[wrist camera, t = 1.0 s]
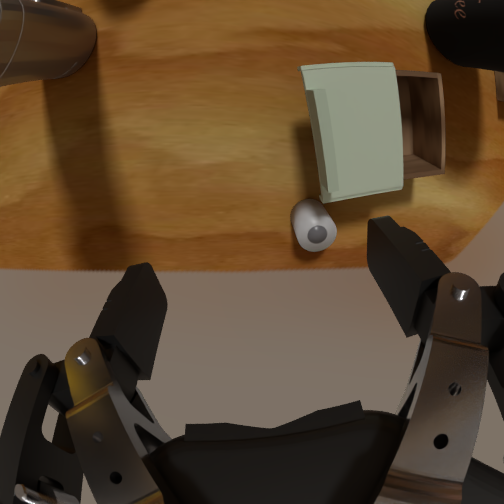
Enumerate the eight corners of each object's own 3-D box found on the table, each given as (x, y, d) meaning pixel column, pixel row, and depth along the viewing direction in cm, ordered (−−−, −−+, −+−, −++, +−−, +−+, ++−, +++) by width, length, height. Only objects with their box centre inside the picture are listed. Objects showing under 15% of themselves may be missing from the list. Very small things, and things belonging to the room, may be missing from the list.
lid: (297, 67, 20) (307, 63, 17) (386, 62, 20) (407, 62, 16) (319, 198, 28) (330, 215, 24) (396, 184, 27) (414, 199, 24)
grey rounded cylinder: (287, 202, 35) (294, 221, 31) (323, 195, 35) (335, 212, 30) (293, 234, 38) (300, 255, 33) (326, 227, 37) (337, 247, 33)
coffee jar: (452, -4, 16) (542, -9, 1) (481, 57, 21) (572, 77, 6) (408, 6, 19) (508, -12, 4) (443, 74, 24) (546, 96, 9)
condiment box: (345, 71, 26) (371, 69, 20) (407, 71, 25) (441, 73, 19) (358, 163, 32) (382, 182, 26) (414, 156, 31) (444, 173, 26)
